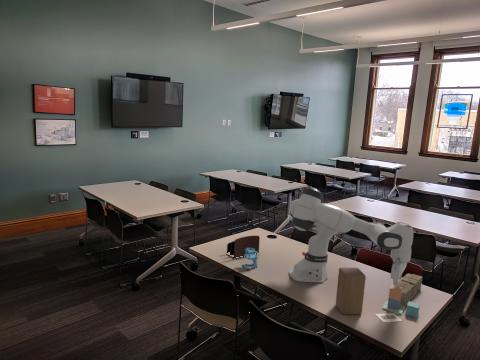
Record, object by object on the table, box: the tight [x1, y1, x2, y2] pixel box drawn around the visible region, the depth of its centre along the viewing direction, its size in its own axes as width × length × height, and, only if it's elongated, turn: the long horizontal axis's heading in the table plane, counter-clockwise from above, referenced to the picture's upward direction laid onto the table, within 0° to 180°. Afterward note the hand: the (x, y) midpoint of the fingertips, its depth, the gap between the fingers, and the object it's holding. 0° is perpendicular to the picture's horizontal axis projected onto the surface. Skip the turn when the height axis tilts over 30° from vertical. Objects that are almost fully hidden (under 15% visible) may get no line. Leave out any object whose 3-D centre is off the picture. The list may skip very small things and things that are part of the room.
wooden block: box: [335, 267, 367, 315], centre depth 174 cm, size 10×10×20 cm
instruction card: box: [374, 312, 403, 323], centre depth 170 cm, size 10×7×1 cm
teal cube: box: [405, 300, 421, 319], centre depth 175 cm, size 5×5×5 cm
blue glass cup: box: [242, 248, 259, 270], centre depth 221 cm, size 8×8×12 cm
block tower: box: [397, 273, 423, 307], centre depth 194 cm, size 8×8×29 cm
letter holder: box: [226, 235, 260, 258], centre depth 242 cm, size 10×20×14 cm, turn 123°
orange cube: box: [388, 284, 403, 301], centre depth 178 cm, size 5×5×5 cm
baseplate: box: [381, 297, 406, 316], centre depth 179 cm, size 9×9×6 cm
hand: (397, 282), depth 178 cm, fingers open, 8 cm apart
